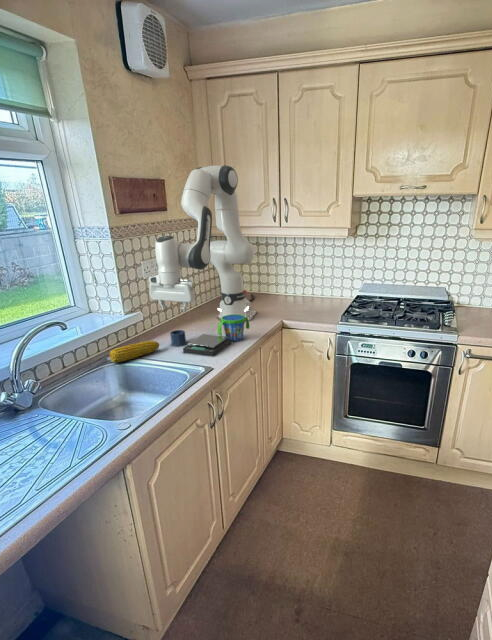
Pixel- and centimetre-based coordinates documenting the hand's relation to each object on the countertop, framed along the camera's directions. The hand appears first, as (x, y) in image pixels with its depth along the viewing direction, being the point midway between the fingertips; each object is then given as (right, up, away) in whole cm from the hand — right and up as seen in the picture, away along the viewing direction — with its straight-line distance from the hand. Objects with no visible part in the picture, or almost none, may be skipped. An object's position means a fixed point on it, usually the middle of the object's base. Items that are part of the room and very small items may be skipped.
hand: (174, 311), depth 173 cm
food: (-14, -20, -7) cm, 25 cm away
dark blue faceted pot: (0, -13, +6) cm, 15 cm away
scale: (+14, -16, +1) cm, 21 cm away
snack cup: (+24, -11, +11) cm, 29 cm away
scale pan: (+14, -13, +1) cm, 19 cm away
